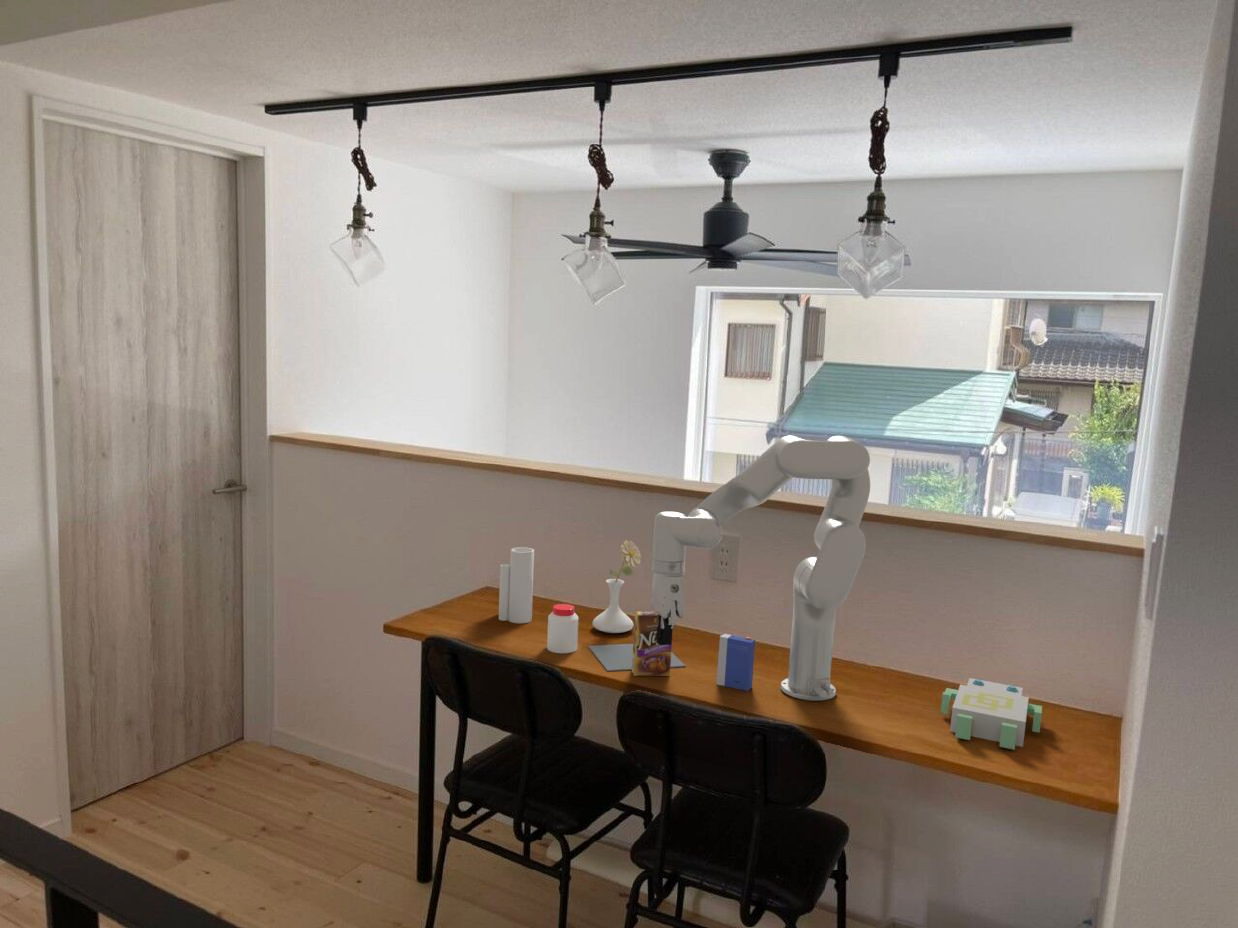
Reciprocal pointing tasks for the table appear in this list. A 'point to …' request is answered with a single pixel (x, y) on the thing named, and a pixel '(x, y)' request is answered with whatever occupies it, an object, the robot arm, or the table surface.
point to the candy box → (649, 647)
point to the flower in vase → (613, 616)
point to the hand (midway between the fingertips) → (664, 643)
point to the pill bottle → (562, 629)
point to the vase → (517, 586)
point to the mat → (622, 657)
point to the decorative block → (990, 712)
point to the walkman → (735, 662)
